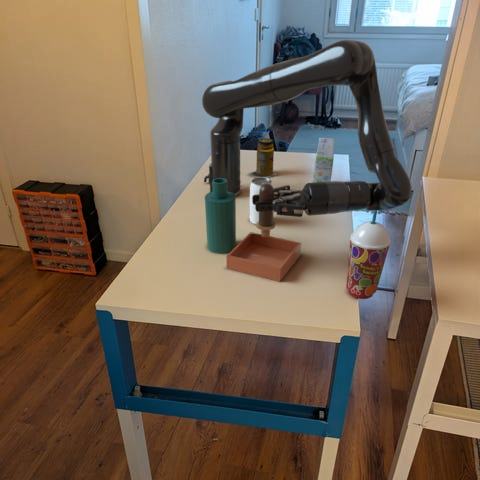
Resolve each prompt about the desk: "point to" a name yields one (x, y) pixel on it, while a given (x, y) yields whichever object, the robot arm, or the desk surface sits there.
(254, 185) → the can
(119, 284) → the desk surface
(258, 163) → the condiment
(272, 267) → the dish
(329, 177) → the snack box
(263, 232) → the stopper
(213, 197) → the flask
